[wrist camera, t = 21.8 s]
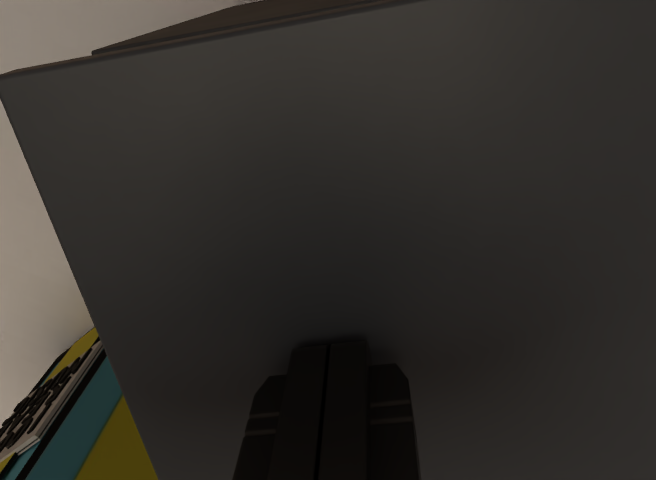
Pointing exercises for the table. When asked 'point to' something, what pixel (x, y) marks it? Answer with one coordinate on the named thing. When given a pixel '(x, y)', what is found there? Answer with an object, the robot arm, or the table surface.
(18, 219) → the table surface
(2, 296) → the table surface
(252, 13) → the trash bin
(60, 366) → the carton
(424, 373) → the bin lid
